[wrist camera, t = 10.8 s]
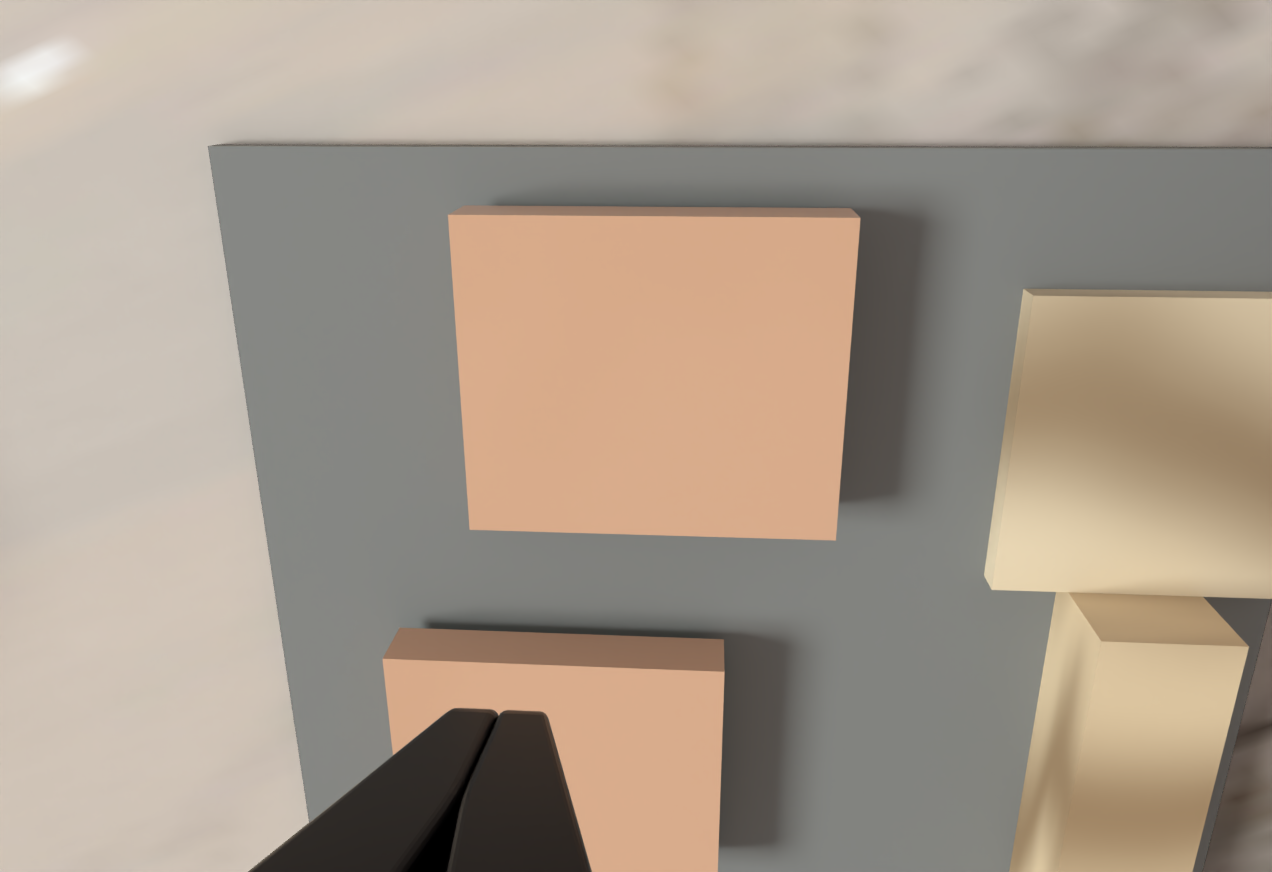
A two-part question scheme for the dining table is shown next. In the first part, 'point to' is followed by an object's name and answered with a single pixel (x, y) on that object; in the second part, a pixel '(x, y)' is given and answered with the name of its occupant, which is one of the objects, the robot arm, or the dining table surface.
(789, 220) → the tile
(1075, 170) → the mat
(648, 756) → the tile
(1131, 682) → the cream stepped block
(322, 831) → the robot arm
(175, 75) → the dining table surface
